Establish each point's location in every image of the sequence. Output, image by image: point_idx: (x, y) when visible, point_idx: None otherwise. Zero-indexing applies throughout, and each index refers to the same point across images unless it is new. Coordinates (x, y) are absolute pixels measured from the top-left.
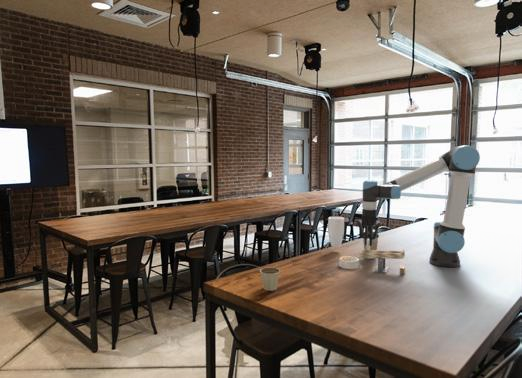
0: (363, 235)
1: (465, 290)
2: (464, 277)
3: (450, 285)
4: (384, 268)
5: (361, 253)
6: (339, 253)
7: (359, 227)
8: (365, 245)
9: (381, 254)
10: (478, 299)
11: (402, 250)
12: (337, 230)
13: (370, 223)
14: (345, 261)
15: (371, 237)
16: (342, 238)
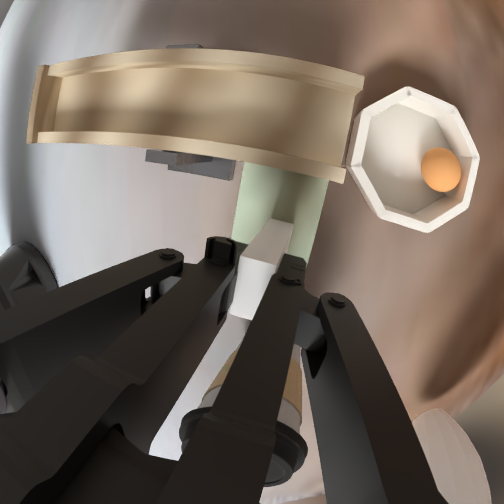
0: (316, 348)
1: (21, 46)
2: (3, 153)
3: (31, 60)
4: None
5: (338, 70)
6: (417, 384)
7: (413, 440)
8: (291, 381)
9: (160, 52)
10: (24, 9)
11: (32, 121)
12: (455, 478)
13: (32, 453)
14: (441, 100)
15: (196, 267)
16: None
